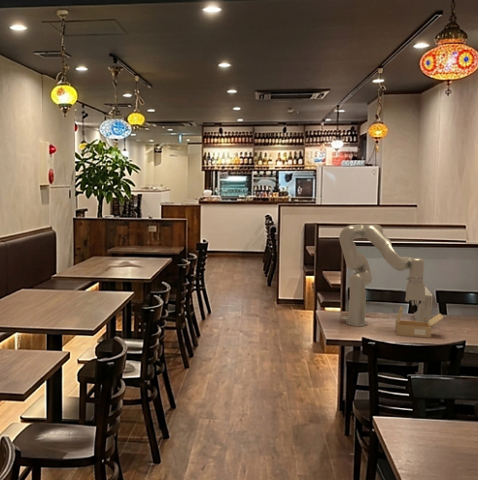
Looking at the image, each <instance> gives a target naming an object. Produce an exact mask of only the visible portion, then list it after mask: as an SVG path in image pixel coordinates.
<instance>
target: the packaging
mask: <svg viewBox="0 0 478 480" xmlns="http://www.w3.org/2000/svg"><path fill="white" fill-rule="evenodd" d="M433 297H434V295H433V293H431V291H429V289H428V288H427V286H425V302H423V303H420V304H419V305H418V311H416V313H415V312H414V313H413V317H414V319H415V321H417V322H429V320H430V319H432V314H433ZM414 304H416V301H415V300H414ZM429 324H430V323H429ZM430 326H431V325H430ZM431 327H432V326H431Z"/></svg>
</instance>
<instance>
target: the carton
mask: <svg viewBox="0 0 478 480" xmlns="http://www.w3.org/2000/svg"><path fill="white" fill-rule="evenodd" d="M394 327H395V333H396V336H399V337H410V338H411V337H412V338H424V339H431V338H432V327H433V326H430V324H429V322H417V321H416V320H415V321H414V320H404V319H403V320H402V319H400V322H399V323H398V322H397V319H396V320H395V326H394Z"/></svg>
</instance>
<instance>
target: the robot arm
mask: <svg viewBox="0 0 478 480" xmlns="http://www.w3.org/2000/svg"><path fill="white" fill-rule="evenodd" d="M355 239H367V240H368V241H369V242H370V243H371V244H372V245H373V246H374V247H375V248H376V249H378V252H380V254H381V255H382V258H383V259H384V260H385V262H386V263H387V264H389V265H390V266H391V267H392V268H393V269H394V270H395V271H399V272H403V271H407V270H408V271H409V273H408V275H409V276H408V277H406V281H407V284H406V287H405V288H406V289H405V299H404V301H405V302H407V303H409V304H411V311H412V313H413V314H414V312H415V313H416V311H418V305H419V304H420V303H423V302H425V287H426V286H425V282H424V269H425V268H424V267H425V265H424V264H425V260H424V259H423V258H421V257H411V256H405V255H404V256H400V255H399V254H398V253H397V252H396V251H395V249H394V248H393V246H392V241H391V239H390V238H389V237H388V236H386V235H385V234H384V230H383V227H382V226H381V225H380V224H376V223H374V224H373V223H372V224H362V223H361V224H360V223H359V224H351V225H350V224H349V225H347V226H345V227H343V228H342V229H341V232H340V233H339V244H340V247H341V250H342V254H343V257H344V260H345V265H346V267H347V268H348V269H349V270H350V271H354V273H352V274H351V275H350V277H349V280H348V286H349V302H348V314H347V315H346V316H345V315H341V316H340V319H341V320H343V321H345V324H347V325H348V326H352V327H366V326H368V322H367V321H366V319H365V318H366V301H367V298H366V297H367V292H366V287H367V286H369V285H370V284H371V283H372V281H373V275H372V272H371V268H370V265H369V262H368V258H366V255H364V254H362V253H359V251H358V248H357V245H356V243H355V242H354V240H355ZM415 301H416V304H415Z"/></svg>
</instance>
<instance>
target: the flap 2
mask: <svg viewBox="0 0 478 480" xmlns="http://www.w3.org/2000/svg"><path fill="white" fill-rule="evenodd" d="M442 320H444V316H443V315H442V313H438V314H437V315H435V316H433V317H431V319H430V320H429V323H430V325H431V327H433V326H434V325H436V324H437V323H438V322H441V321H442Z"/></svg>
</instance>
